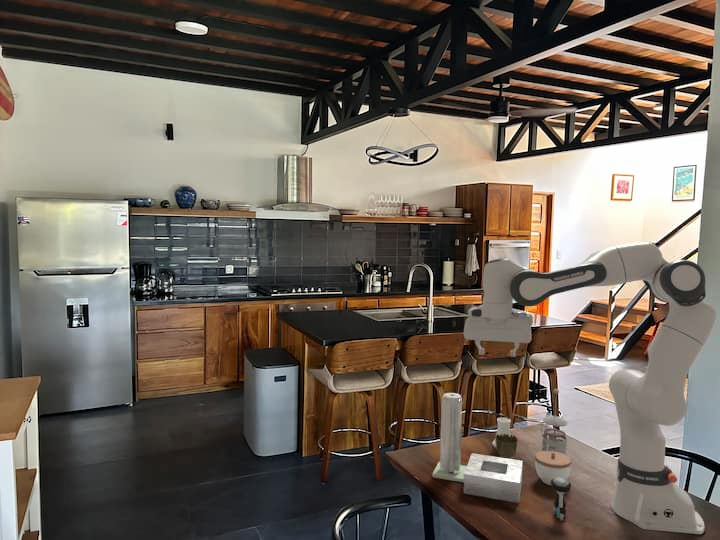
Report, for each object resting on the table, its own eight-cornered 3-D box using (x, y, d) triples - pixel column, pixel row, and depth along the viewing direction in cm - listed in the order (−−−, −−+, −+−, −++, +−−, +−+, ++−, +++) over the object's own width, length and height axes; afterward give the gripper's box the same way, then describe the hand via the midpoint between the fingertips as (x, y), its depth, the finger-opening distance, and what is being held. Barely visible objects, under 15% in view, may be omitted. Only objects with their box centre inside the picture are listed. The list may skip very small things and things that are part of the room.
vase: (488, 445, 194) (489, 419, 193) (500, 440, 199) (500, 414, 198) (506, 452, 188) (507, 425, 188) (517, 446, 193) (518, 420, 193)
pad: (468, 469, 174) (468, 466, 174) (463, 482, 165) (463, 479, 165) (438, 464, 178) (438, 461, 178) (432, 477, 168) (432, 474, 168)
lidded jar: (532, 472, 173) (533, 444, 172) (566, 475, 171) (567, 447, 170) (536, 487, 162) (537, 458, 161) (573, 491, 160) (574, 461, 159)
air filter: (463, 468, 172) (465, 393, 170) (455, 476, 167) (457, 399, 165) (444, 464, 175) (446, 390, 174) (436, 471, 170) (438, 395, 168)
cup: (517, 465, 177) (518, 442, 177) (495, 463, 179) (496, 440, 178) (515, 456, 185) (516, 434, 184) (494, 454, 186) (495, 432, 186)
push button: (572, 523, 142) (573, 487, 141) (551, 520, 143) (552, 485, 143) (568, 510, 149) (569, 476, 148) (548, 508, 150) (549, 474, 149)
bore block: (522, 479, 167) (522, 460, 167) (519, 503, 152) (519, 483, 152) (471, 470, 173) (471, 453, 172) (463, 493, 158) (464, 473, 157)
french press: (549, 467, 176) (551, 394, 175) (530, 453, 188) (532, 384, 186) (574, 464, 179) (577, 392, 177) (554, 450, 190) (557, 382, 188)
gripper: (533, 310, 161) (532, 355, 162) (465, 308, 168) (465, 351, 169) (532, 313, 155) (532, 360, 156) (462, 311, 162) (462, 355, 163)
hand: (497, 355), depth 163 cm, fingers open, 8 cm apart
